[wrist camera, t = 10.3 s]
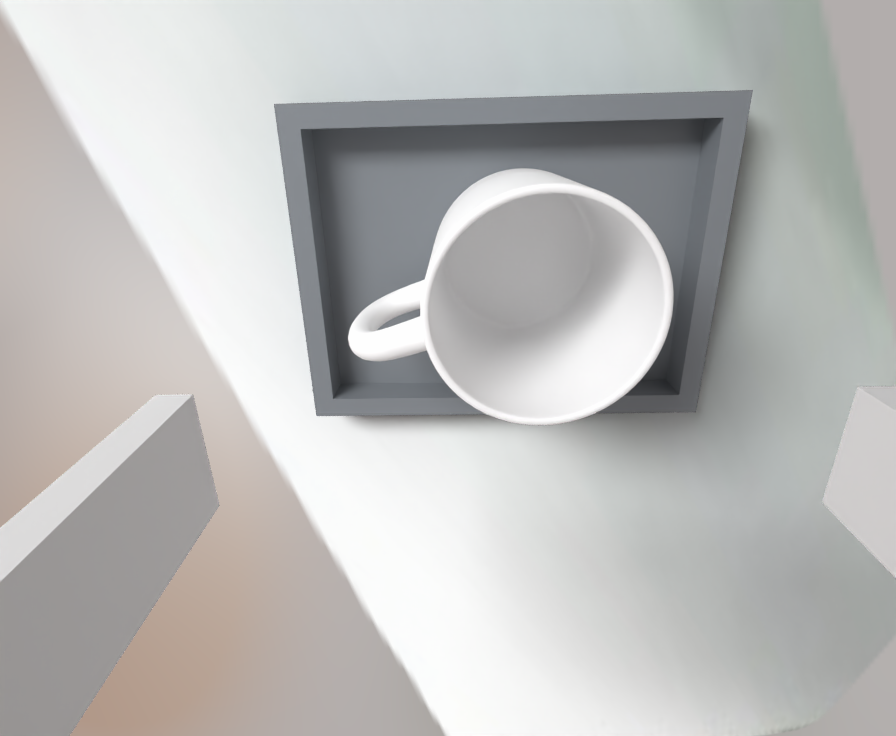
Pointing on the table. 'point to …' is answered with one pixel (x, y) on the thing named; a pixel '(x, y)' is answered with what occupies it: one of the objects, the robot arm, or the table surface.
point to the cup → (532, 300)
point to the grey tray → (464, 163)
